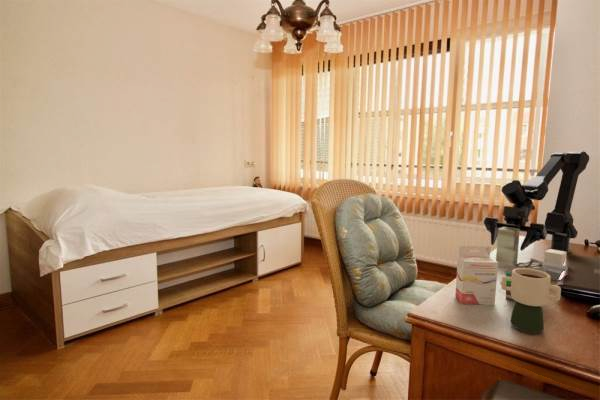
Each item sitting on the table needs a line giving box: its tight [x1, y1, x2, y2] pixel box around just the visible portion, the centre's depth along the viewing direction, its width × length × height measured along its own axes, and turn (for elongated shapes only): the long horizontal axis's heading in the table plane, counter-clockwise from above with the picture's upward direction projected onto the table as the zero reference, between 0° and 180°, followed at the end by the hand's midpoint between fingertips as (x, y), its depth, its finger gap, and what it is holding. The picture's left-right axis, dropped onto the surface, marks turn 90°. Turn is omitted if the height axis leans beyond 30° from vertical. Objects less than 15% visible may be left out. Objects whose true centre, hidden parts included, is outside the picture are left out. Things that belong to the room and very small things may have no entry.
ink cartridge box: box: [455, 245, 499, 306], centre depth 90 cm, size 9×5×15 cm, turn 84°
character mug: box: [500, 268, 562, 334], centre depth 76 cm, size 11×7×13 cm, turn 52°
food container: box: [504, 257, 546, 303], centre depth 90 cm, size 12×6×10 cm, turn 117°
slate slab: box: [540, 260, 567, 282], centre depth 110 cm, size 9×9×3 cm
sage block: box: [495, 227, 521, 268], centre depth 119 cm, size 5×5×13 cm
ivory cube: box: [543, 248, 567, 266], centre depth 118 cm, size 5×5×5 cm
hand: (506, 247), depth 118 cm, fingers open, 9 cm apart
